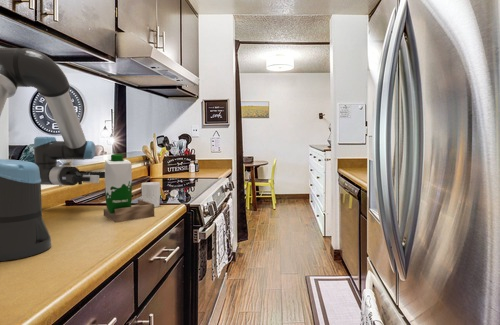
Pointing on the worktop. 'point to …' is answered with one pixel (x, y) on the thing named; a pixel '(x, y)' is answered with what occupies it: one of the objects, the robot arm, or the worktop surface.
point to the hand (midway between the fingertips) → (111, 177)
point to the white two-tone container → (118, 183)
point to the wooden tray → (131, 212)
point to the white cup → (151, 192)
